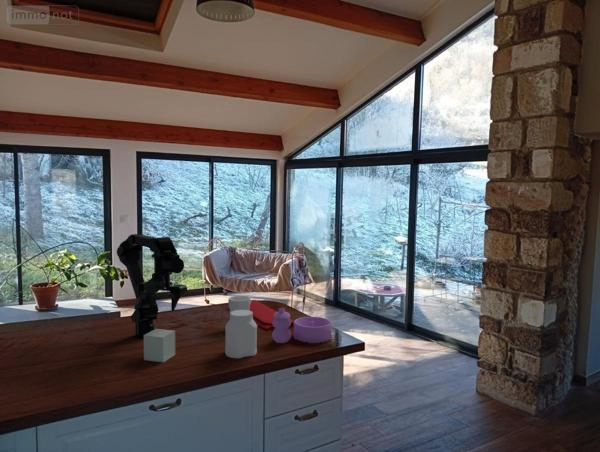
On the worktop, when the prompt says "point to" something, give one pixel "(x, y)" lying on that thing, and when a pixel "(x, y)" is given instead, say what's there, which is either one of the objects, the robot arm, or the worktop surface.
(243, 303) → the foam cup
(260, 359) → the worktop surface
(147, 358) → the pale grey cube
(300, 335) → the container set
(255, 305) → the dish drying mat
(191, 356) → the worktop surface
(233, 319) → the jar
